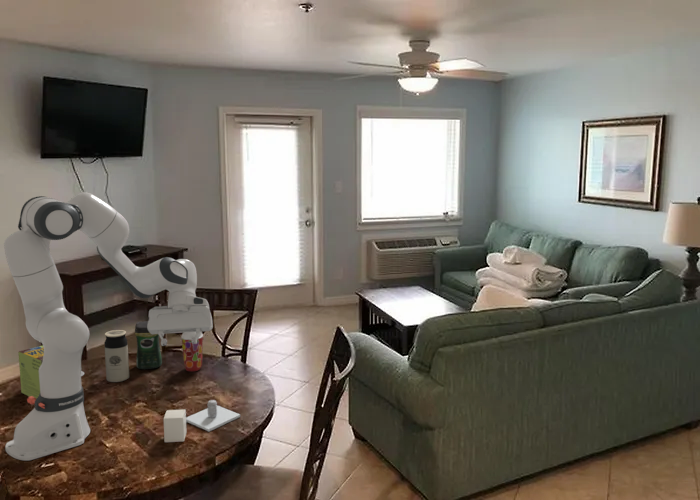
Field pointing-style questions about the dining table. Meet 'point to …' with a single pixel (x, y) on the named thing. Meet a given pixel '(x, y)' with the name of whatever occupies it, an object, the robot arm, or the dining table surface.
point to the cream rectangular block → (175, 425)
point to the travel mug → (116, 356)
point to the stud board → (211, 421)
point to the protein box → (30, 370)
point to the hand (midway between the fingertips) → (179, 344)
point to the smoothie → (192, 351)
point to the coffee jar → (147, 347)
